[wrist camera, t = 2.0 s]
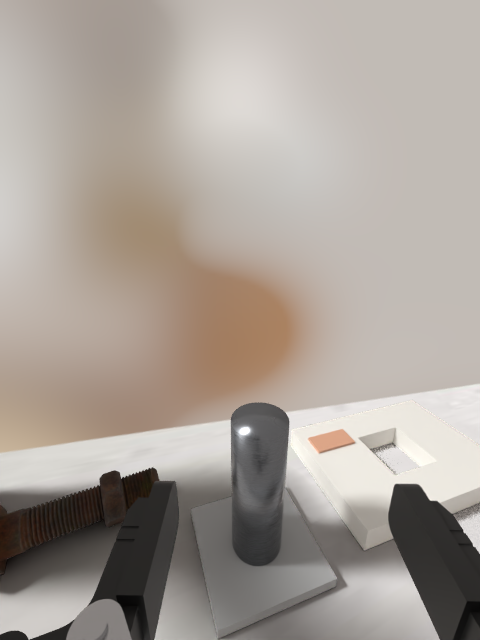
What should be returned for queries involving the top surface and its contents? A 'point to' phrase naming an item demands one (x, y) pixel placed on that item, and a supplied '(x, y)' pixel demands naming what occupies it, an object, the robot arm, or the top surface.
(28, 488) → the top surface
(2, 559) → the bolt
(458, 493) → the plate
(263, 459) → the cylinder
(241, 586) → the mat
